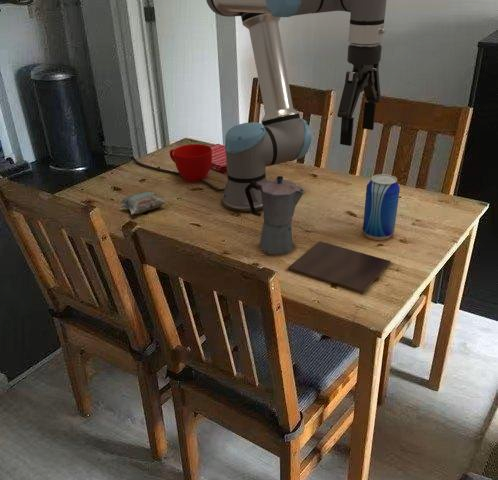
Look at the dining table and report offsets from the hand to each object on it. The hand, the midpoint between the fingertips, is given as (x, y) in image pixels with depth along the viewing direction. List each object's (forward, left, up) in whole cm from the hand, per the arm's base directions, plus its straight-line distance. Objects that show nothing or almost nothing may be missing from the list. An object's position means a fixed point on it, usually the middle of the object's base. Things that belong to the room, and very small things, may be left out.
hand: (357, 136), depth 134 cm
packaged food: (-60, -18, -27) cm, 69 cm away
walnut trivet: (+6, -18, -27) cm, 33 cm away
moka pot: (-13, -17, -27) cm, 35 cm away
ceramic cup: (-65, +10, -27) cm, 71 cm away
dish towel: (-66, +29, -27) cm, 77 cm away
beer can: (+7, +4, -27) cm, 28 cm away
